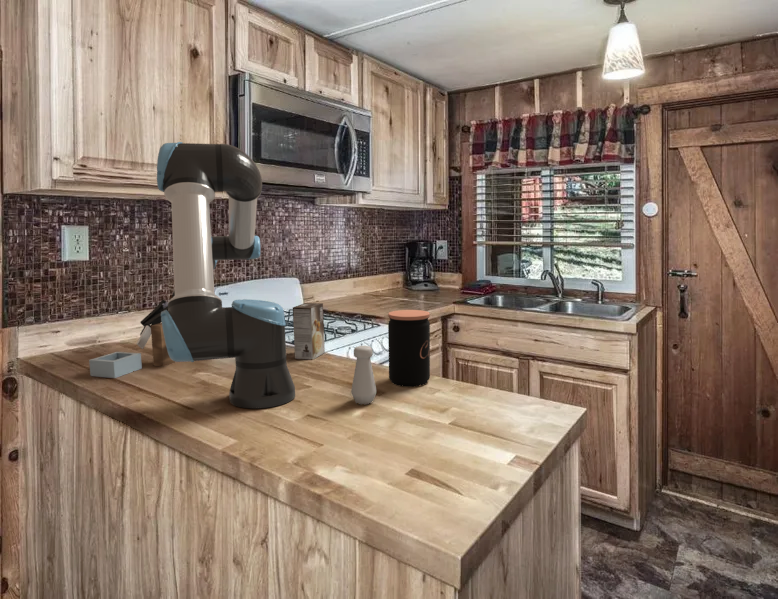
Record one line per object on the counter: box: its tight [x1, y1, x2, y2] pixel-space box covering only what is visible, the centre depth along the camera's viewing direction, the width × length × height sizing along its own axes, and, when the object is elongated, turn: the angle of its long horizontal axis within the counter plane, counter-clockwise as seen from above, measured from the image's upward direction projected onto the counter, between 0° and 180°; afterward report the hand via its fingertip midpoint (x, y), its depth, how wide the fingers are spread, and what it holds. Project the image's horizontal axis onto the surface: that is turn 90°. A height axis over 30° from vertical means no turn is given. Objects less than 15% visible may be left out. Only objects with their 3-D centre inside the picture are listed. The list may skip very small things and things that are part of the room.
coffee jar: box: [387, 309, 431, 388], centre depth 136 cm, size 11×11×18 cm
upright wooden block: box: [150, 322, 176, 367], centre depth 157 cm, size 4×5×12 cm
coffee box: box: [292, 302, 326, 360], centre depth 164 cm, size 9×6×16 cm
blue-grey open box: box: [88, 351, 143, 379], centre depth 149 cm, size 8×10×4 cm
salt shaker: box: [350, 345, 377, 405], centre depth 121 cm, size 6×6×13 cm
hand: (158, 347), depth 155 cm, fingers open, 13 cm apart
